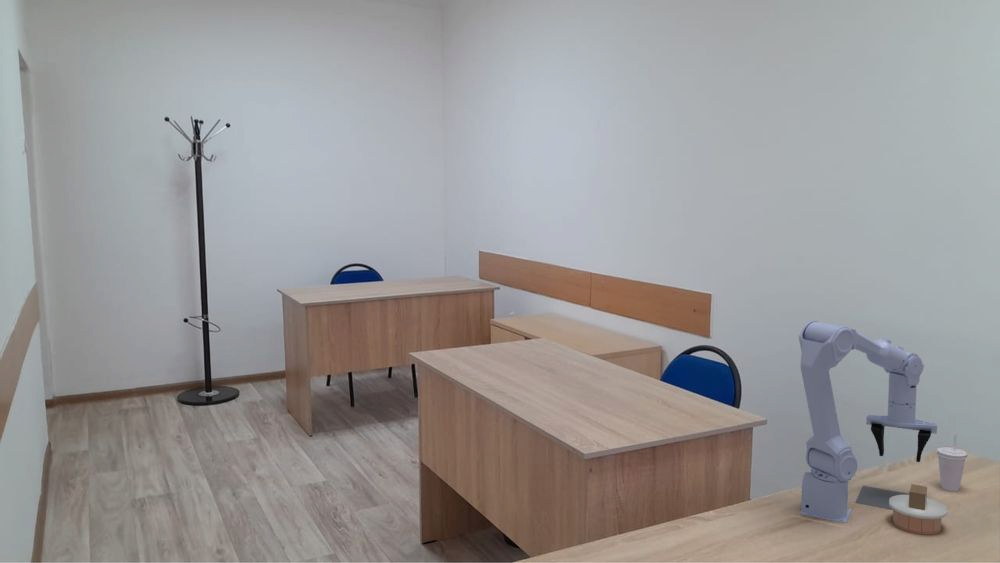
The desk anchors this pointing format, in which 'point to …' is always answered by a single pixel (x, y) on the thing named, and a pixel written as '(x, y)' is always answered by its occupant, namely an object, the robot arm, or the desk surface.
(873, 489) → the mat
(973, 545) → the desk surface
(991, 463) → the desk surface
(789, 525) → the desk surface
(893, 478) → the desk surface
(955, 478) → the smoothie
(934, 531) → the bowl
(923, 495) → the lid
